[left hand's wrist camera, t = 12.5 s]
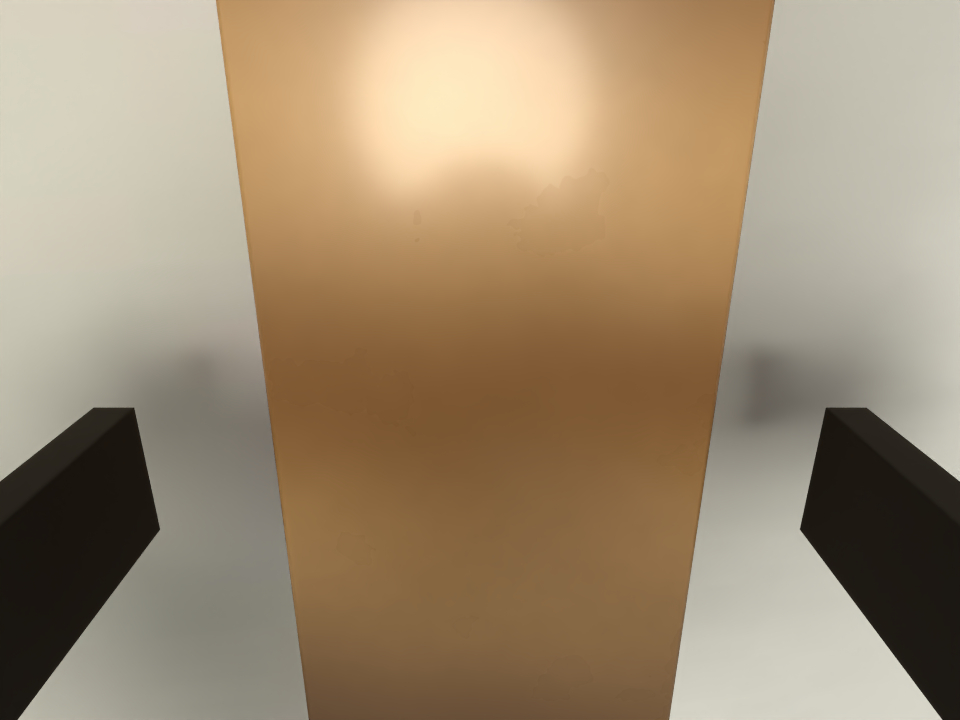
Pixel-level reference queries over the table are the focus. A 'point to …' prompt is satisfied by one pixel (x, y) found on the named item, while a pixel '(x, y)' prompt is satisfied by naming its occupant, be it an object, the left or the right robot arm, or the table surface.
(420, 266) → the post
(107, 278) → the table surface
